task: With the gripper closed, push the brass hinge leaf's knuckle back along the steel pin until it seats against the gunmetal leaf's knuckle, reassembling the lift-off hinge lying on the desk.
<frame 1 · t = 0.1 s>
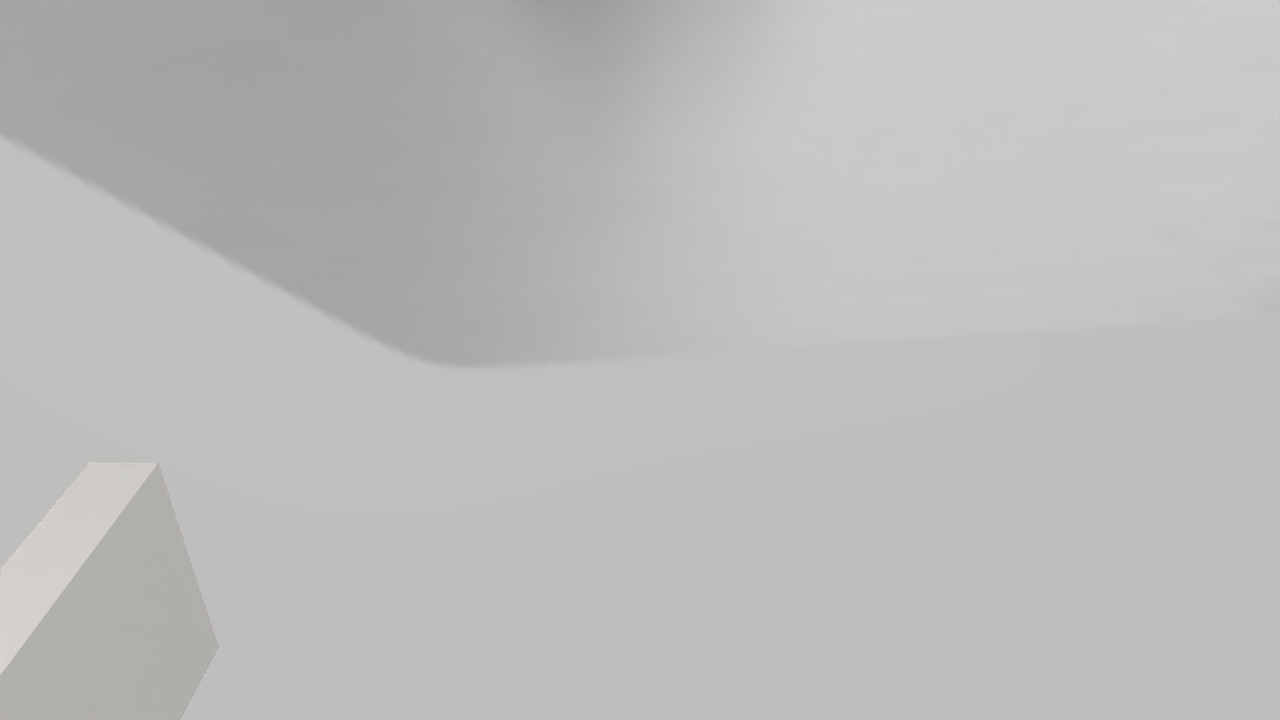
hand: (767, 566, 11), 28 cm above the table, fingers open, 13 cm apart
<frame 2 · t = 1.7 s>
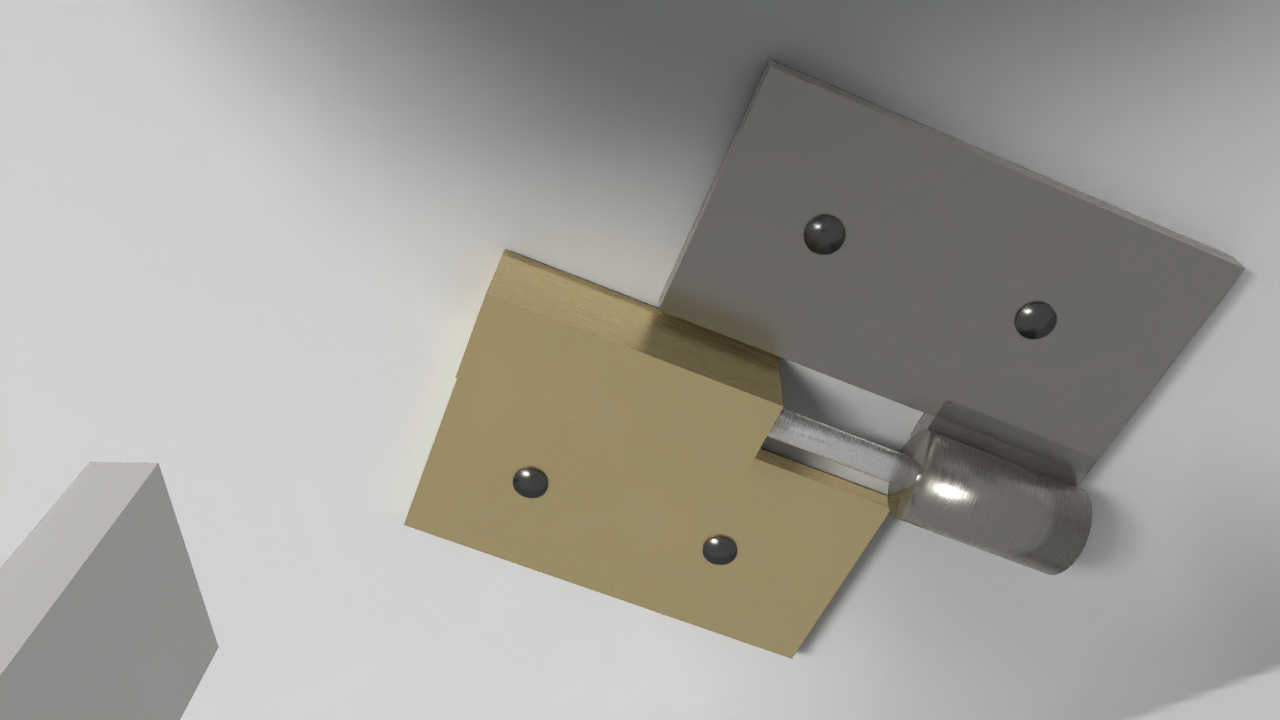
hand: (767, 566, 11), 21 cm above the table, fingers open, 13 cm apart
brass leaf: (660, 494, 35), point 2 cm above the table, slide at 5.0 cm
gunmetal leaf: (849, 424, 35), on the table
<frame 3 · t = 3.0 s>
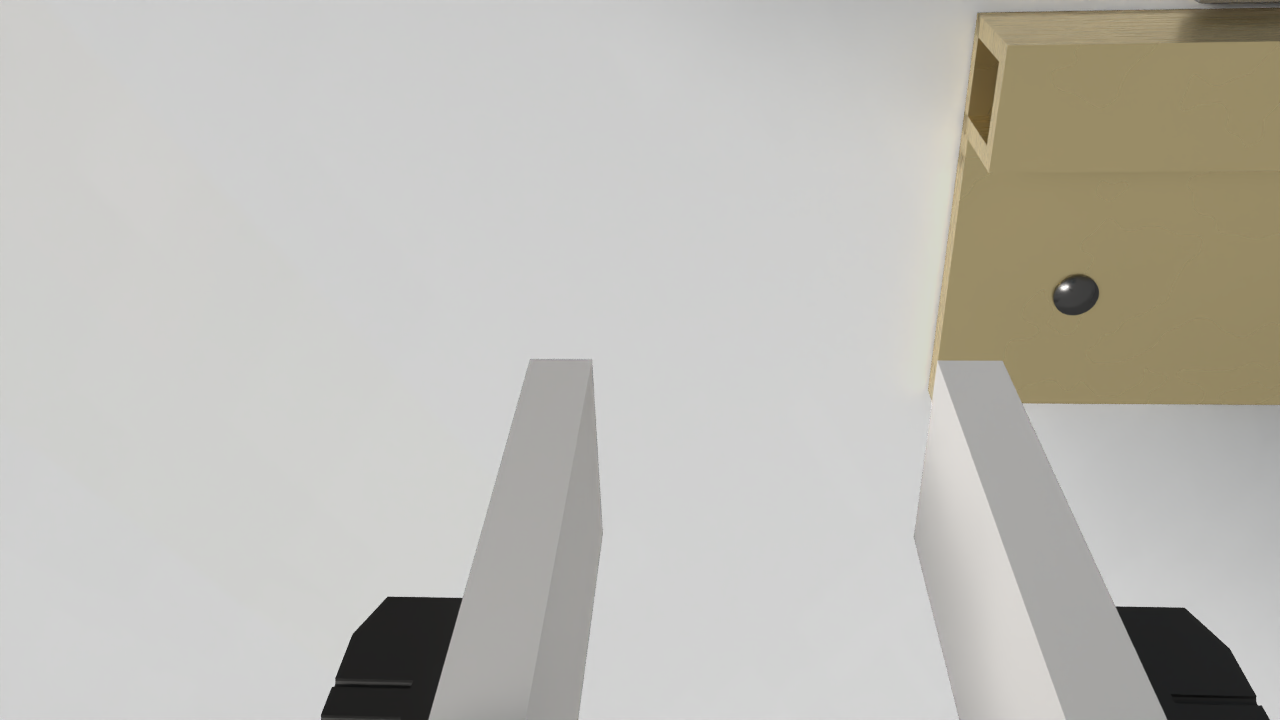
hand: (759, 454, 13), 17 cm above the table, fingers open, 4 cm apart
brass leaf: (1257, 242, 27), point 2 cm above the table, slide at 5.0 cm
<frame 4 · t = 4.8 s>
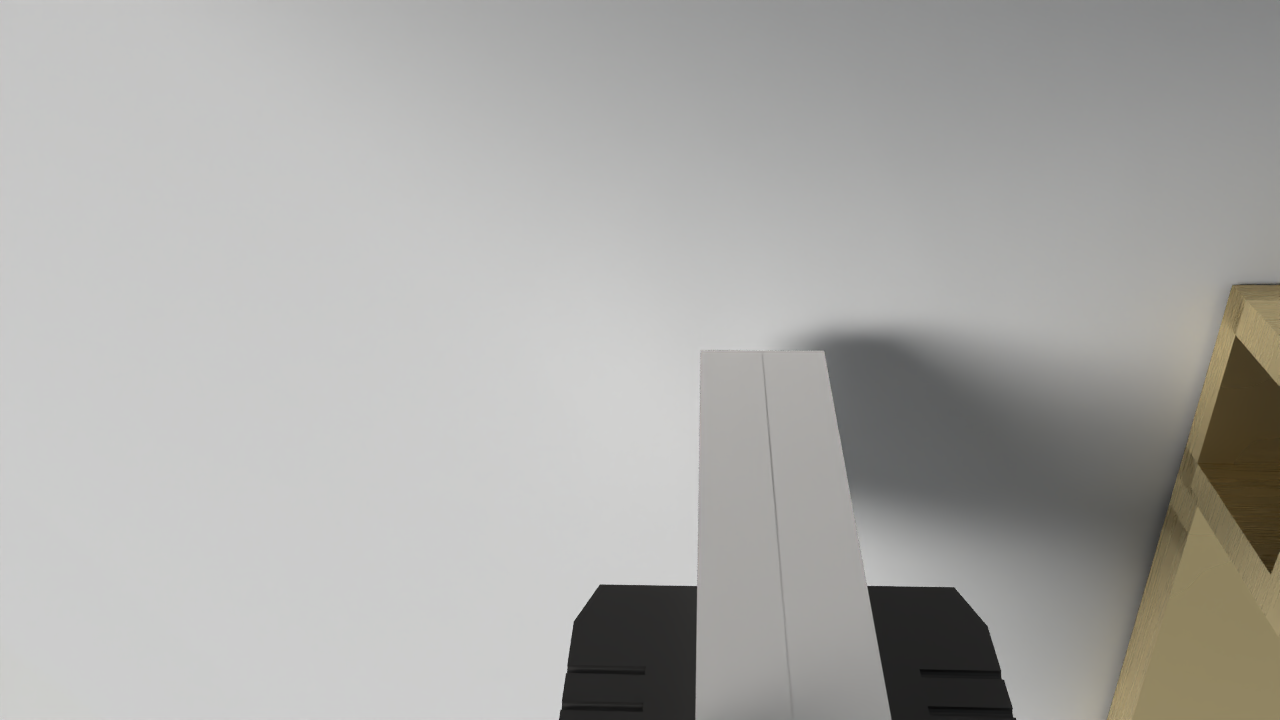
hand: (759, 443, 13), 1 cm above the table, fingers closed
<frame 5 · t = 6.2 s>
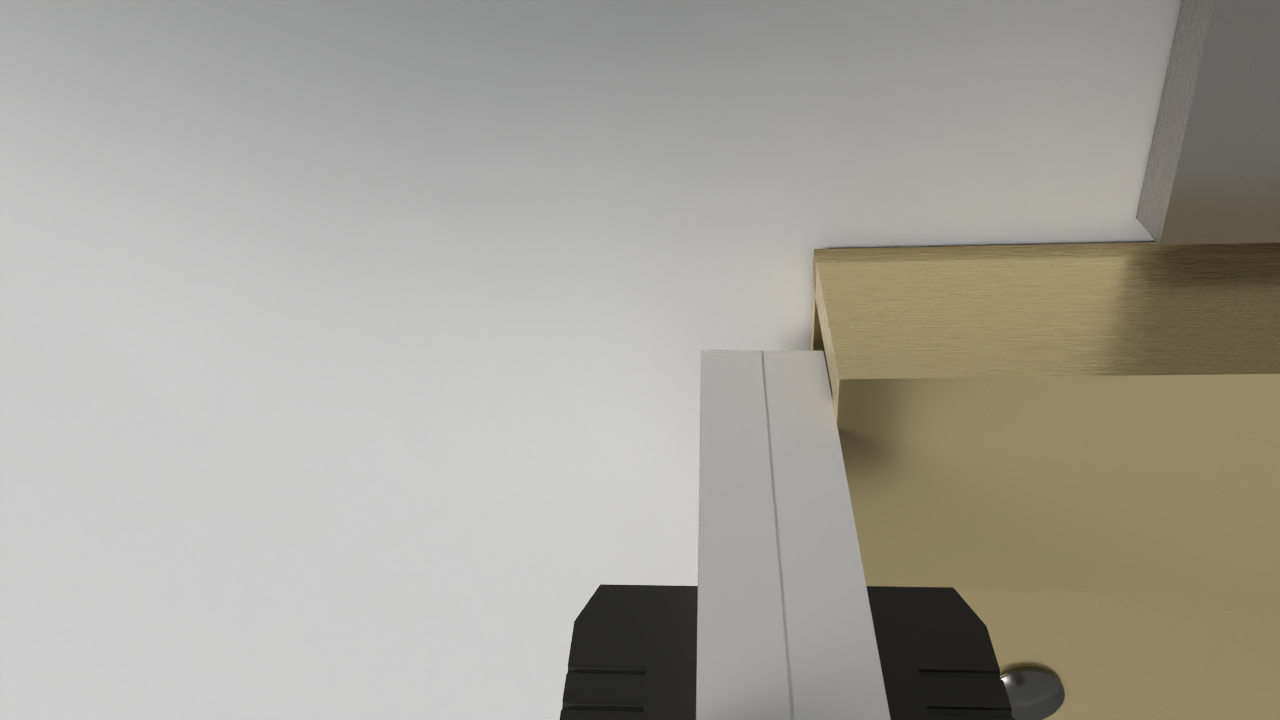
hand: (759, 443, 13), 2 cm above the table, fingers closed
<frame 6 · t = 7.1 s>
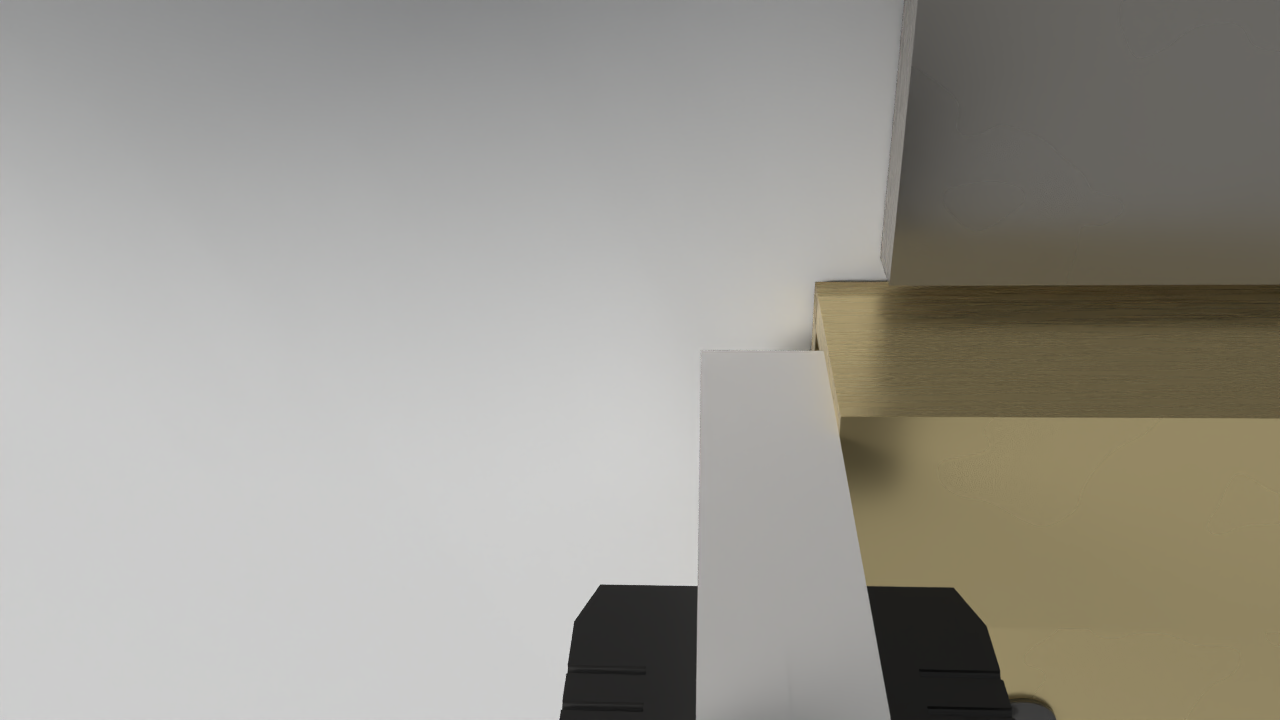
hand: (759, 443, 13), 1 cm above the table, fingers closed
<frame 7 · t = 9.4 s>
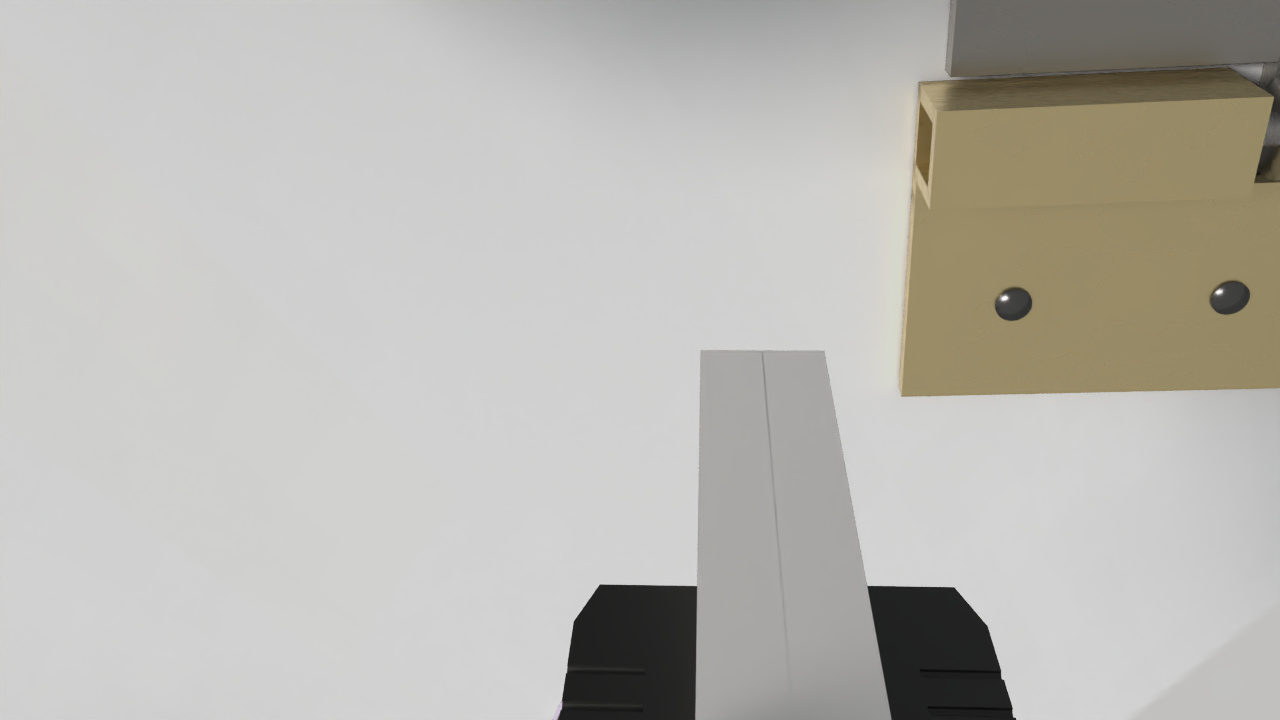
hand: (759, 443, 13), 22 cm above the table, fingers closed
brass leaf: (1155, 257, 34), point 2 cm above the table, slide at 0.8 cm
gunmetal leaf: (1186, 116, 33), on the table
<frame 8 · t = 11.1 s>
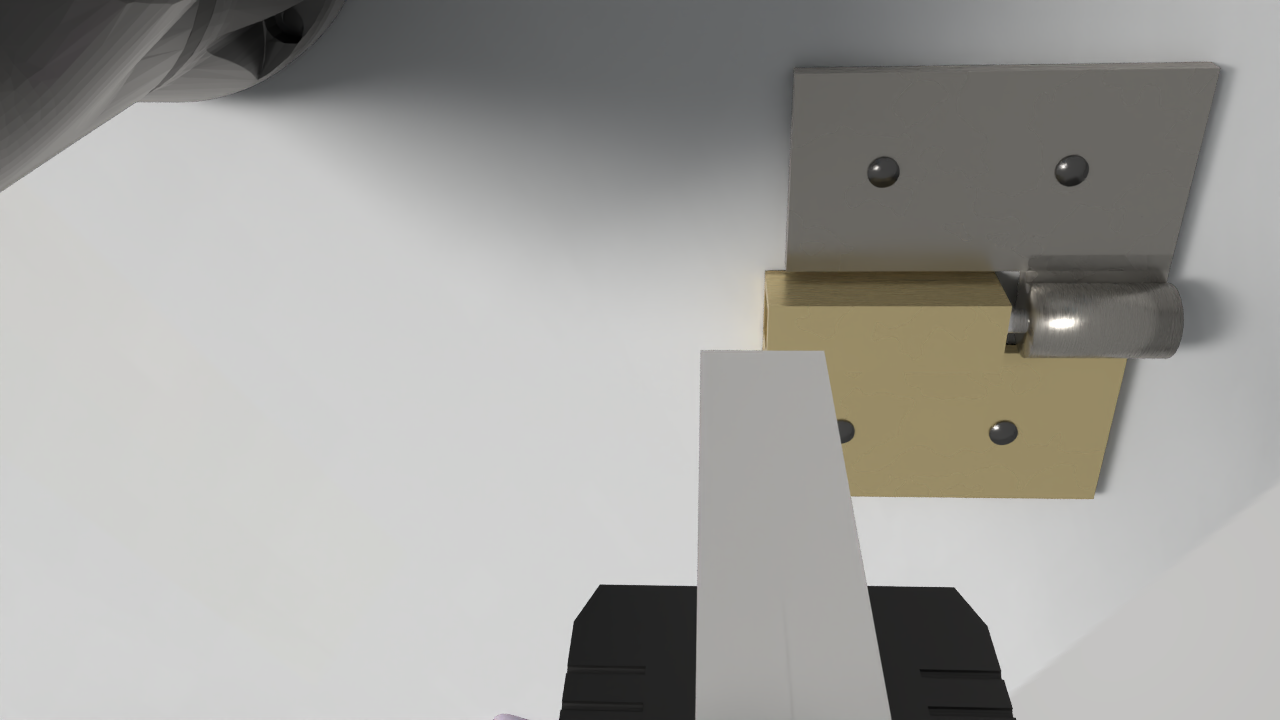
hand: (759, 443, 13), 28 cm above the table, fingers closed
brass leaf: (942, 405, 45), point 2 cm above the table, slide at 0.8 cm
gunmetal leaf: (965, 301, 44), on the table
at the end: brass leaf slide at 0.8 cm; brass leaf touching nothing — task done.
